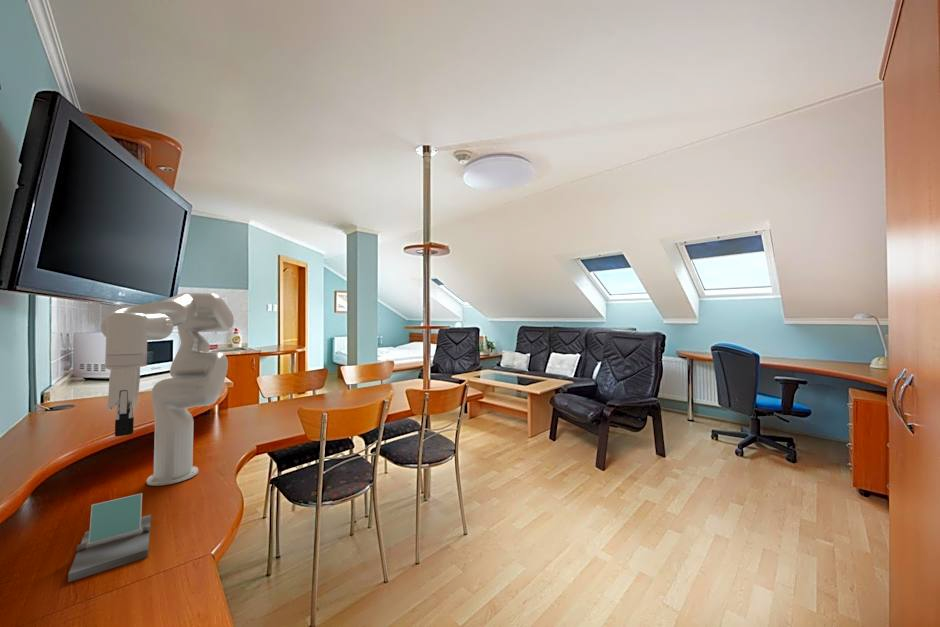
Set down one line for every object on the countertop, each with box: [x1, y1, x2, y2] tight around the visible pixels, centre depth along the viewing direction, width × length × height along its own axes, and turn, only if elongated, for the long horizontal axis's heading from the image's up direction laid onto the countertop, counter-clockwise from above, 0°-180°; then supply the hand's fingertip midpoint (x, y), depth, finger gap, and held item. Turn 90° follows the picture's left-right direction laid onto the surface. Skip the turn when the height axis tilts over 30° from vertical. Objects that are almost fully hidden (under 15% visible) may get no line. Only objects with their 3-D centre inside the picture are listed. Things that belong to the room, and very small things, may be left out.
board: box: [67, 514, 152, 583], centre depth 76 cm, size 18×11×3 cm, turn 41°
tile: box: [88, 492, 143, 544], centre depth 77 cm, size 8×8×1 cm
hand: (124, 434), depth 88 cm, fingers closed
